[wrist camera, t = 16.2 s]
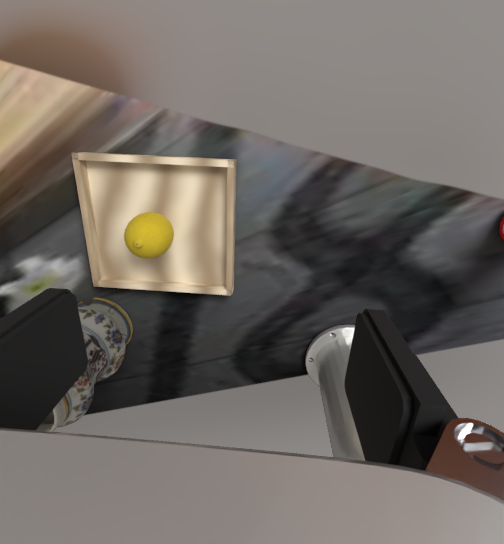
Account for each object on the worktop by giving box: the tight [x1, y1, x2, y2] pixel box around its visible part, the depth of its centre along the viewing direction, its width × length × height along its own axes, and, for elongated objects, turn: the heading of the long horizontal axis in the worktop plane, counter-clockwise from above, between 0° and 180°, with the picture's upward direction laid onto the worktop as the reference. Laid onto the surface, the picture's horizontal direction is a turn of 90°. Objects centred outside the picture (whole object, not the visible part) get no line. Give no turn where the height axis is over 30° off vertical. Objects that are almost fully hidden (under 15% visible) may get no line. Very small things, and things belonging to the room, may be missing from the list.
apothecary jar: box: [36, 298, 133, 432], centre depth 42 cm, size 12×12×18 cm
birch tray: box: [71, 152, 237, 296], centre depth 43 cm, size 20×18×2 cm
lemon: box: [124, 212, 174, 259], centre depth 39 cm, size 6×6×8 cm
